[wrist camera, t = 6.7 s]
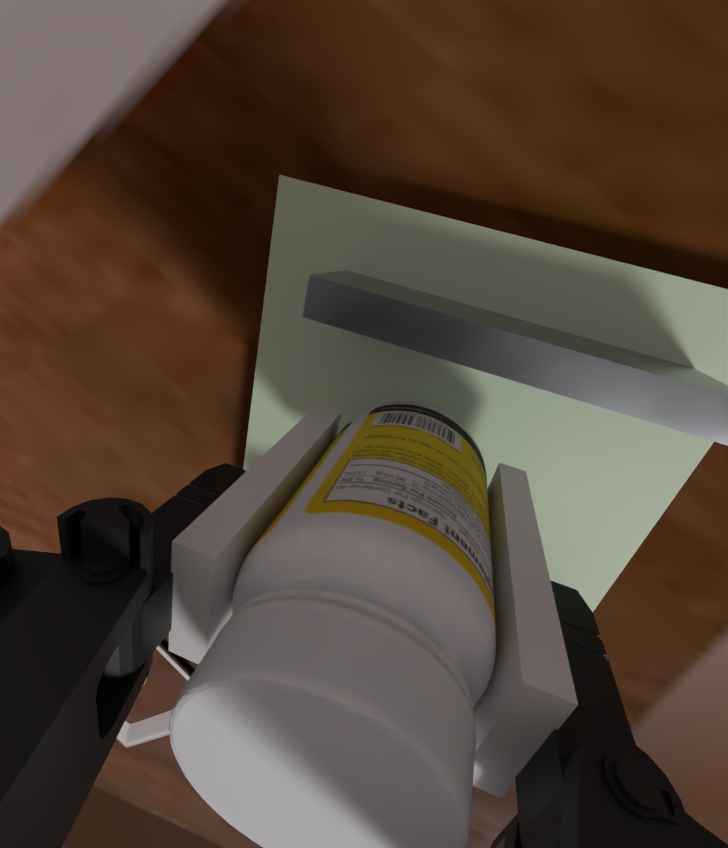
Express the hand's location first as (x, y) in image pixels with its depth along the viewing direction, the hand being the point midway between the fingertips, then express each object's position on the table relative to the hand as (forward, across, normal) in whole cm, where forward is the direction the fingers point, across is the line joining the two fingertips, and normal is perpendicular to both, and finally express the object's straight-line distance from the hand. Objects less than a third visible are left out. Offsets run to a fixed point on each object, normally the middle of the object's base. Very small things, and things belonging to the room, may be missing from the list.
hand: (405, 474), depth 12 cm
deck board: (+3, +1, +1) cm, 3 cm away
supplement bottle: (+1, 0, 0) cm, 1 cm away
